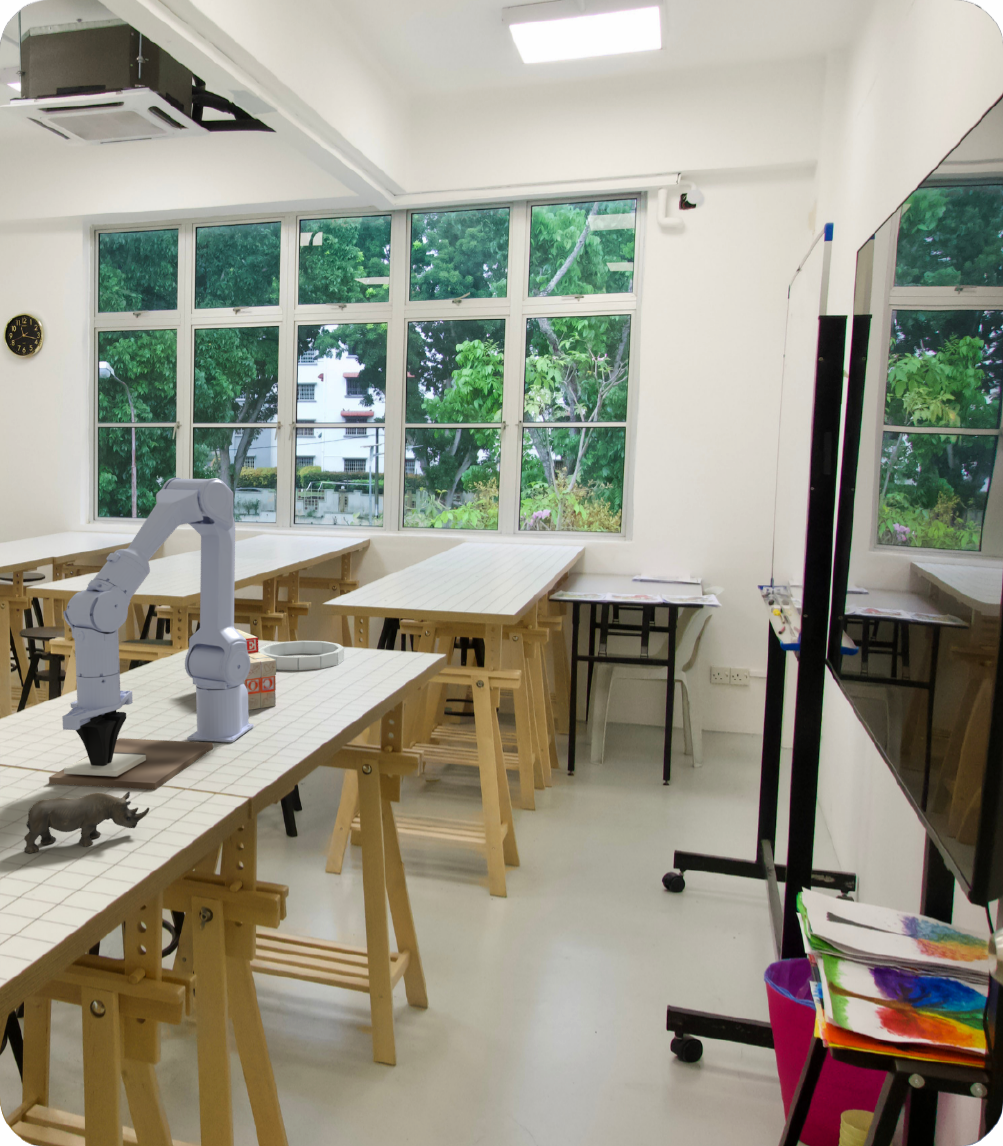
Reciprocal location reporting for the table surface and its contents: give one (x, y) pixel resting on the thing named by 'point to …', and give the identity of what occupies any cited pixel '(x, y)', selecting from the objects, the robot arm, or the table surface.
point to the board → (143, 764)
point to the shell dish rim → (329, 656)
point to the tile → (111, 769)
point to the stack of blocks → (259, 676)
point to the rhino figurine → (78, 817)
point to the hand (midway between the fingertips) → (101, 764)
